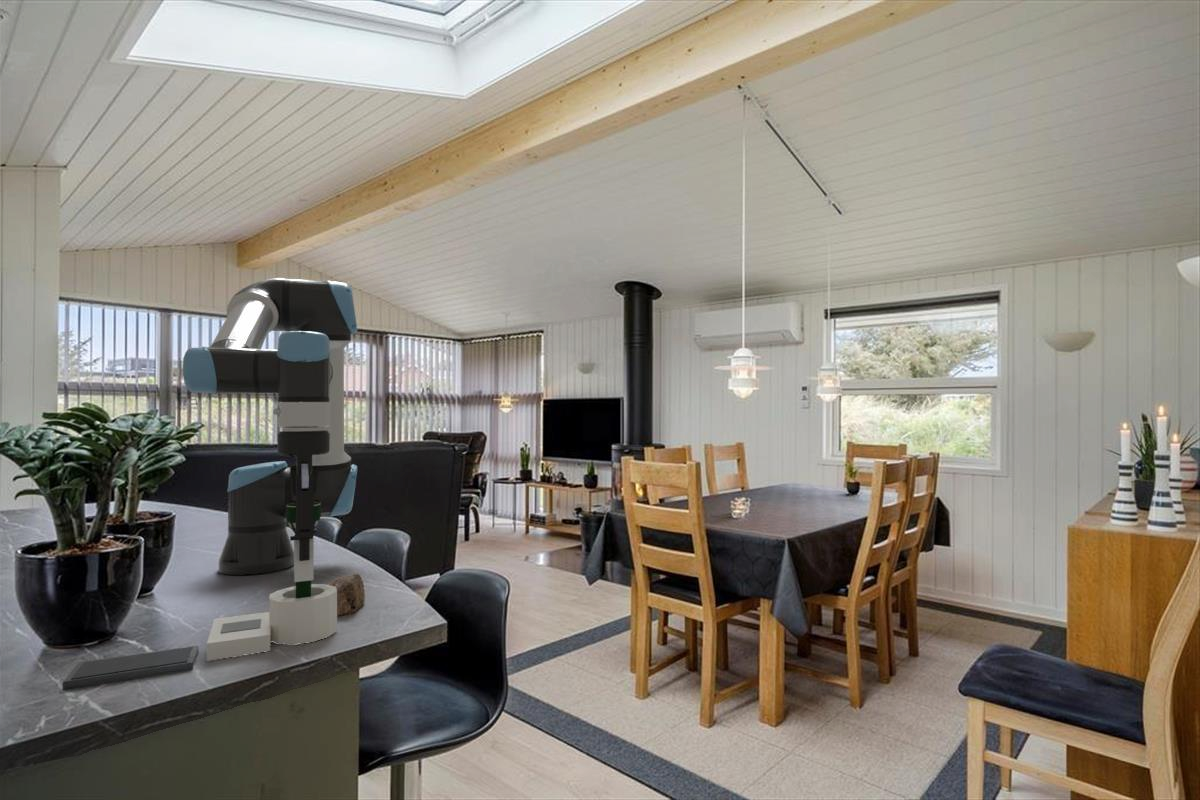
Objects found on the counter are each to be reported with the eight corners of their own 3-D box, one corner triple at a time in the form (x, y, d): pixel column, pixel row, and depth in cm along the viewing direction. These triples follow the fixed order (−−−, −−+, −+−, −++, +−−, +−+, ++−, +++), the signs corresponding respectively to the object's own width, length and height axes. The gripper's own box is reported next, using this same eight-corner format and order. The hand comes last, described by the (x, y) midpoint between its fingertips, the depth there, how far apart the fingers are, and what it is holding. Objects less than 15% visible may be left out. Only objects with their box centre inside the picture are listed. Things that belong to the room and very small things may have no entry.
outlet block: (214, 634, 102) (214, 593, 102) (333, 618, 109) (333, 579, 109) (206, 661, 91) (206, 615, 91) (339, 641, 98) (339, 598, 99)
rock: (363, 615, 111) (364, 582, 111) (298, 622, 108) (298, 588, 108) (364, 591, 126) (365, 562, 126) (307, 596, 122) (307, 566, 122)
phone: (78, 669, 88) (78, 661, 88) (198, 652, 94) (198, 644, 94) (62, 689, 82) (62, 681, 82) (192, 669, 88) (192, 661, 88)
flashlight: (280, 628, 102) (281, 502, 102) (313, 621, 105) (313, 498, 106) (292, 637, 98) (292, 505, 98) (326, 628, 102) (326, 502, 102)
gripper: (277, 428, 107) (277, 570, 107) (277, 431, 94) (276, 593, 93) (326, 427, 111) (326, 565, 110) (332, 430, 97) (332, 587, 97)
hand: (303, 578), depth 102 cm, fingers closed on flashlight, 2 cm apart
